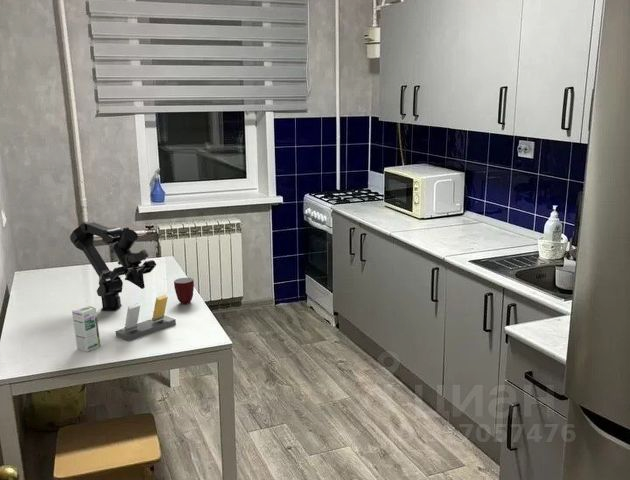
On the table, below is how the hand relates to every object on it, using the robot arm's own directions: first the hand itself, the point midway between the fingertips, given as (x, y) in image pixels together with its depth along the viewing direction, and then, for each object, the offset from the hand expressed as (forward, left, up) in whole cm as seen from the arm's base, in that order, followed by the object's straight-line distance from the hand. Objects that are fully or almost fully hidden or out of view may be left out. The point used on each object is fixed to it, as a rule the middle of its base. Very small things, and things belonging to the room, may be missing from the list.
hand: (143, 288), depth 235 cm
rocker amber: (+7, -5, -10) cm, 13 cm away
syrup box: (-11, -26, -14) cm, 32 cm away
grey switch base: (+4, -10, -13) cm, 17 cm away
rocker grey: (0, -15, -10) cm, 18 cm away
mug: (+10, +20, -14) cm, 26 cm away
